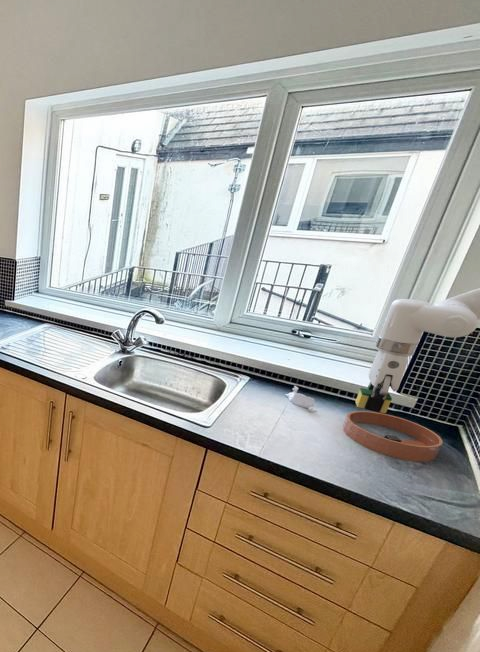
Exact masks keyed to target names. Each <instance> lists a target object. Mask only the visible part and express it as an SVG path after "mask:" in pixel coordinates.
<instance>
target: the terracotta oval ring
mask: <svg viewBox="0 0 480 652" xmlns="http://www.w3.org/2000/svg"><path fill="white" fill-rule="evenodd" d="M357 423H361V424H369V425H370V424H371V425H376V426H380V427H384V428H389V429H391V430H394V431H398V432H400V433H402V434H406V435H408V436H410V437H412V438H414V439H415V440H413V439H412V440H411V439H401V440H402V441H401V442H397V441H392V440H389V439H386V438H384V436H380V435H377V434H375V433H372V432H370V431H368V430H366V429H364V428H362V427H360V426H359V425H357ZM342 431H343V433H344V434H345V435H346V436H348V438H350V439H351V440H352V441H354V442H355V443H357V444H359V445H360V446H363V447H365V448H367V449H369V450H371V451H373V452H377V453H378V454H381V455H384V456H388V457H391V458H394V459H397V460H398V459H399V460H403V461H407V462H417V463H418V462H419V463H424V462H431V461H433V460H435V459H436V458H437V456H438V454H439V452H440V450H441V448H442V446H443V442H444V441H443V439H442V438H441V436H440V435H439V434H437V433H436V432H435V431H433V430H431V429H429V428H427V427H425V426H423V425H420V424H419V423H417V422H414V421H411V420H408V419H405V418H402V417H399V416H396V415H395V416H394V415H392V414H386V413H383V412H375V411H370V410H355V411H351V412H348V413H347V414H346V416H345V419H344V422H343V424H342Z"/></svg>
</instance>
